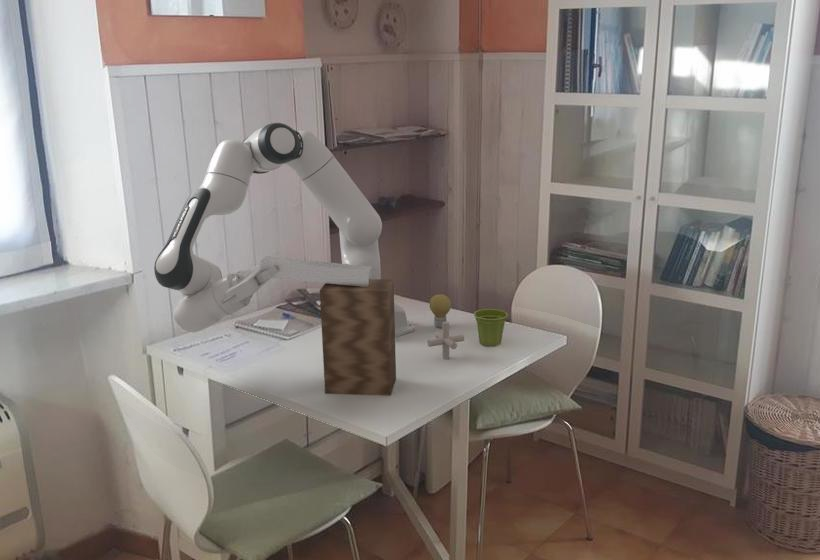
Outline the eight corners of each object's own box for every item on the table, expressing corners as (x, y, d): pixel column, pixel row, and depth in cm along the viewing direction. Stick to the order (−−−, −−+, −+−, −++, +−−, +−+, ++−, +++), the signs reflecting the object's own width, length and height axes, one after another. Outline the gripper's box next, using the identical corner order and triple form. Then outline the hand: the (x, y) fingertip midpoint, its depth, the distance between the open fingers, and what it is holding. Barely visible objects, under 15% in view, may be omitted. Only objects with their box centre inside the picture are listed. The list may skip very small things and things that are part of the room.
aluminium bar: (260, 276, 184) (260, 260, 183) (265, 272, 188) (265, 256, 187) (368, 287, 182) (369, 270, 181) (371, 282, 186) (371, 266, 185)
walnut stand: (325, 393, 187) (319, 290, 180) (333, 377, 197) (328, 278, 190) (390, 395, 186) (387, 291, 179) (396, 379, 195) (393, 279, 188)
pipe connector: (437, 367, 202) (436, 331, 200) (421, 355, 211) (420, 320, 208) (471, 361, 206) (471, 325, 203) (454, 349, 215) (454, 314, 212)
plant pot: (488, 335, 226) (488, 306, 223) (514, 342, 219) (514, 313, 217) (466, 343, 219) (466, 314, 217) (492, 351, 213) (493, 321, 210)
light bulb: (435, 331, 230) (435, 299, 227) (426, 325, 235) (425, 293, 233) (454, 328, 232) (454, 296, 229) (445, 322, 238) (444, 290, 235)
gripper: (211, 293, 178) (259, 265, 175) (239, 270, 197) (284, 245, 194) (226, 316, 179) (275, 288, 176) (253, 291, 198) (297, 266, 195)
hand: (280, 265), depth 185 cm, fingers closed on aluminium bar, 4 cm apart
